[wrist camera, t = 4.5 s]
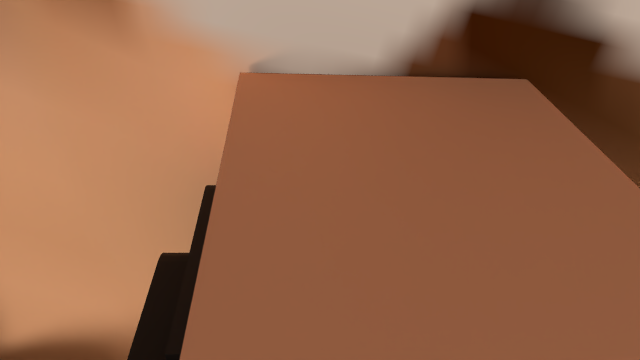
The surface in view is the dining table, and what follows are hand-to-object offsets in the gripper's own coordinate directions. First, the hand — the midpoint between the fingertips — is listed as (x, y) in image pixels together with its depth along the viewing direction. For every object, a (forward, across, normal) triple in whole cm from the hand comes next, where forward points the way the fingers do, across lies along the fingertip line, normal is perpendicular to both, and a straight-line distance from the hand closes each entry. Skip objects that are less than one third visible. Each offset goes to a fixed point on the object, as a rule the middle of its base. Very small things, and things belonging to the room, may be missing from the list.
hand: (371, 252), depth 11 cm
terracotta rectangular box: (+1, 0, 0) cm, 1 cm away
